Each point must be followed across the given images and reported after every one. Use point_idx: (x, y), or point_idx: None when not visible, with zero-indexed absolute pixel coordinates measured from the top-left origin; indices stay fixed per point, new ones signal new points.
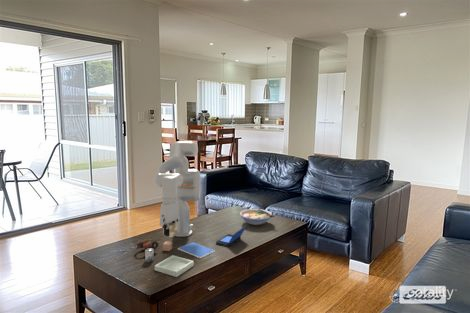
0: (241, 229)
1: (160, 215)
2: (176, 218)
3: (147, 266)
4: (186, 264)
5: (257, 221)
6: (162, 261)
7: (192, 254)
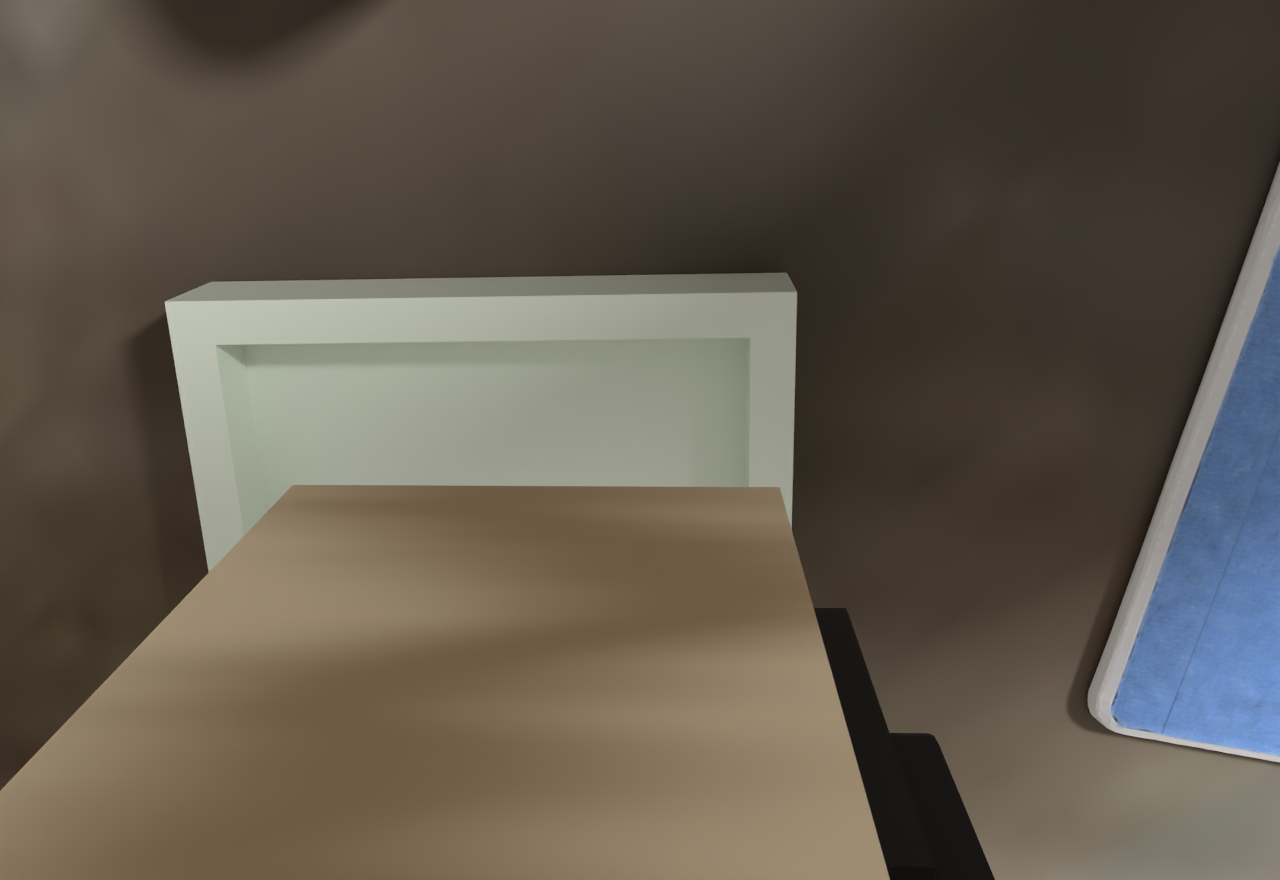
0: None
1: None
2: None
3: (227, 12)
4: None
5: None
6: (405, 316)
7: (1165, 522)
